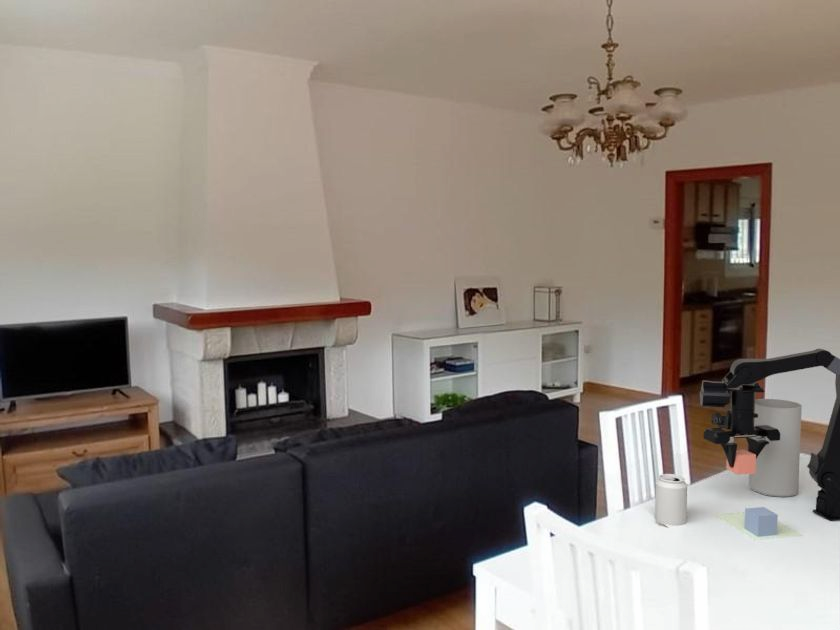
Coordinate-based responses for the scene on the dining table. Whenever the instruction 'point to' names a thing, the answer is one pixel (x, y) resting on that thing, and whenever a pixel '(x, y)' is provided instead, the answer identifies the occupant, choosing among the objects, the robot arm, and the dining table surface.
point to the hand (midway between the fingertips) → (740, 466)
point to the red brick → (743, 463)
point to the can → (671, 500)
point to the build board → (739, 523)
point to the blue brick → (761, 521)
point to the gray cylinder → (778, 449)
